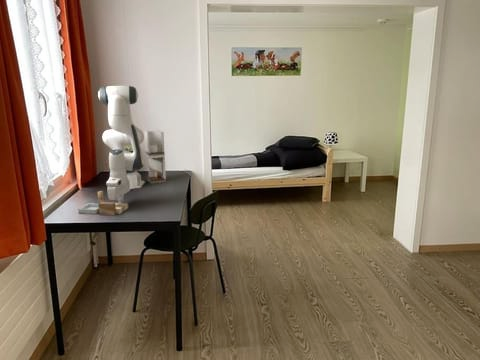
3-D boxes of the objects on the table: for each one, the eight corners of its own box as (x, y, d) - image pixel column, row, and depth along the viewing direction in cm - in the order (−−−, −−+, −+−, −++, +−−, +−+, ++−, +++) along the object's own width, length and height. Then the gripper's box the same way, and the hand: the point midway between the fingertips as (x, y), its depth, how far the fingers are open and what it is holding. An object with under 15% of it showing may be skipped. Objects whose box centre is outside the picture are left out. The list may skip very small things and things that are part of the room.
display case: (147, 179, 271) (144, 131, 262) (162, 178, 275) (159, 130, 267) (151, 183, 261) (147, 133, 252) (166, 181, 265) (163, 132, 257)
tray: (88, 207, 208) (88, 203, 207) (105, 208, 206) (105, 204, 206) (78, 213, 198) (78, 209, 197) (96, 214, 196) (95, 209, 196)
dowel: (100, 204, 213) (99, 190, 211) (105, 204, 213) (104, 191, 211) (97, 206, 210) (96, 192, 208) (102, 206, 210) (101, 192, 208)
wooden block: (102, 212, 199) (101, 202, 197) (116, 213, 197) (115, 202, 196) (99, 214, 196) (98, 203, 194) (113, 215, 195) (112, 204, 193)
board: (107, 207, 209) (107, 202, 208) (128, 208, 207) (127, 203, 206) (98, 213, 199) (98, 208, 198) (120, 214, 197) (119, 209, 197)
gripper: (121, 174, 218) (123, 197, 222) (104, 183, 199) (106, 208, 202) (132, 175, 217) (133, 197, 221) (115, 183, 198) (117, 208, 201)
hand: (120, 202), depth 211 cm, fingers closed
